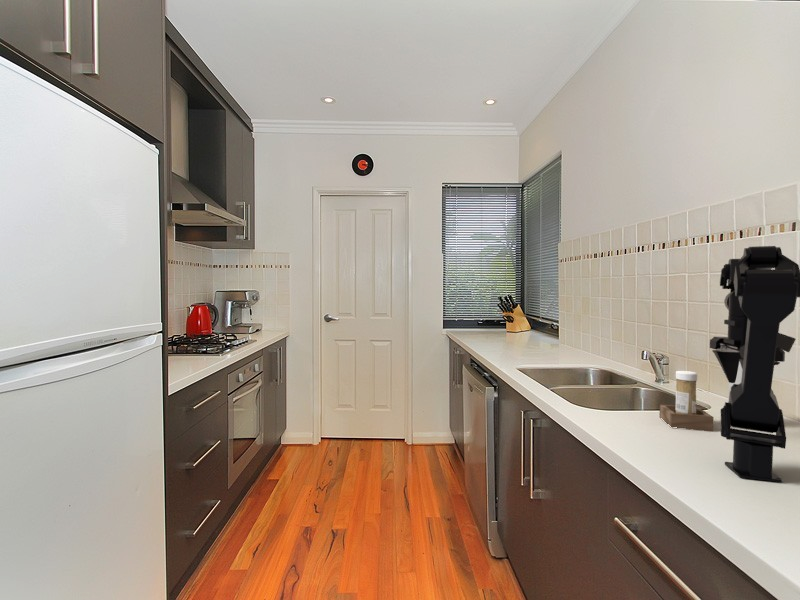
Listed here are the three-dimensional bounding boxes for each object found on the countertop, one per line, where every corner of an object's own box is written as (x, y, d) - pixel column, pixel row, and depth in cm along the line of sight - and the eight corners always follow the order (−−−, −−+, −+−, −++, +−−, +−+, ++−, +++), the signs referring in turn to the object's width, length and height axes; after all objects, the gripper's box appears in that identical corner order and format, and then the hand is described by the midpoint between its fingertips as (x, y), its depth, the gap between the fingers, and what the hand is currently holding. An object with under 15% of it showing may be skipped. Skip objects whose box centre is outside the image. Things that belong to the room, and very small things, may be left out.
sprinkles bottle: (700, 427, 108) (702, 373, 107) (683, 427, 107) (684, 373, 107) (686, 421, 112) (688, 369, 112) (670, 421, 112) (671, 370, 111)
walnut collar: (713, 431, 104) (713, 417, 104) (671, 427, 107) (671, 413, 107) (697, 420, 113) (698, 407, 113) (659, 417, 115) (659, 404, 115)
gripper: (819, 320, 83) (815, 401, 83) (764, 314, 101) (762, 380, 101) (750, 318, 86) (747, 396, 86) (709, 313, 104) (707, 377, 104)
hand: (742, 387), depth 94 cm, fingers open, 9 cm apart
